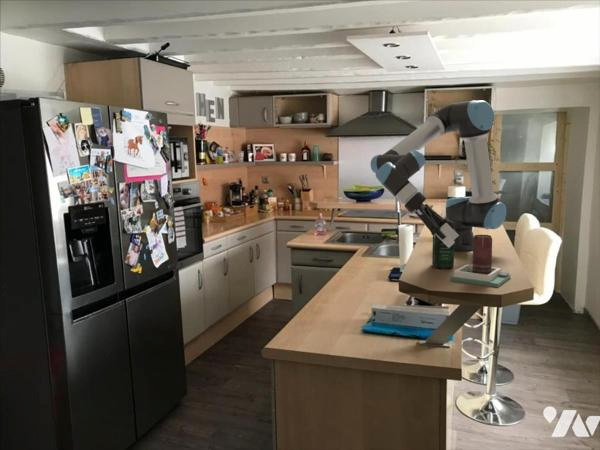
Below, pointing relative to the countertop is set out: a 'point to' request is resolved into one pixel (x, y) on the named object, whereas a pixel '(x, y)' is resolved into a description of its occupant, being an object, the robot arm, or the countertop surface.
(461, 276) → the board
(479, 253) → the can
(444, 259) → the coffee jar
